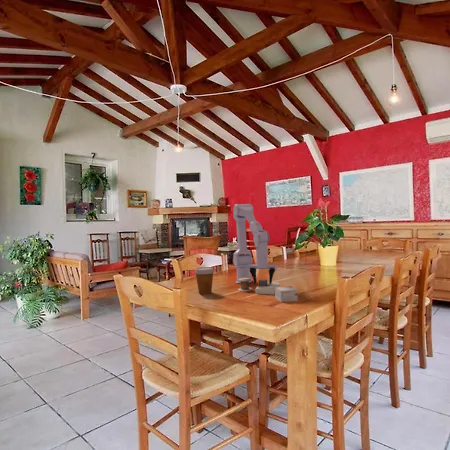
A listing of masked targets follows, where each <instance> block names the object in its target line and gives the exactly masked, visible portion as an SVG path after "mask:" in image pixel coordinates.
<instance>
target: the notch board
mask: <svg viewBox="0 0 450 450" xmlns="http://www.w3.org/2000/svg"><path fill="white" fill-rule="evenodd" d="M275 287H281V283H280V282H274V281H273V282H272V283H271V284H269V281H267V287H266V286H259V285H258V286H256V288H255V290H254V291H255V294H256V295H275Z"/></svg>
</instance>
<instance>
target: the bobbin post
mask: <svg viewBox="0 0 450 450" xmlns="http://www.w3.org/2000/svg"><path fill="white" fill-rule="evenodd" d="M250 280H252V278H251V279H250V278H240V279H239V281H241V283H240V287H239V288H238V289H237V290H238V292H252V291H253V288H252V287H250V283H249V281H250Z"/></svg>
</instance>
